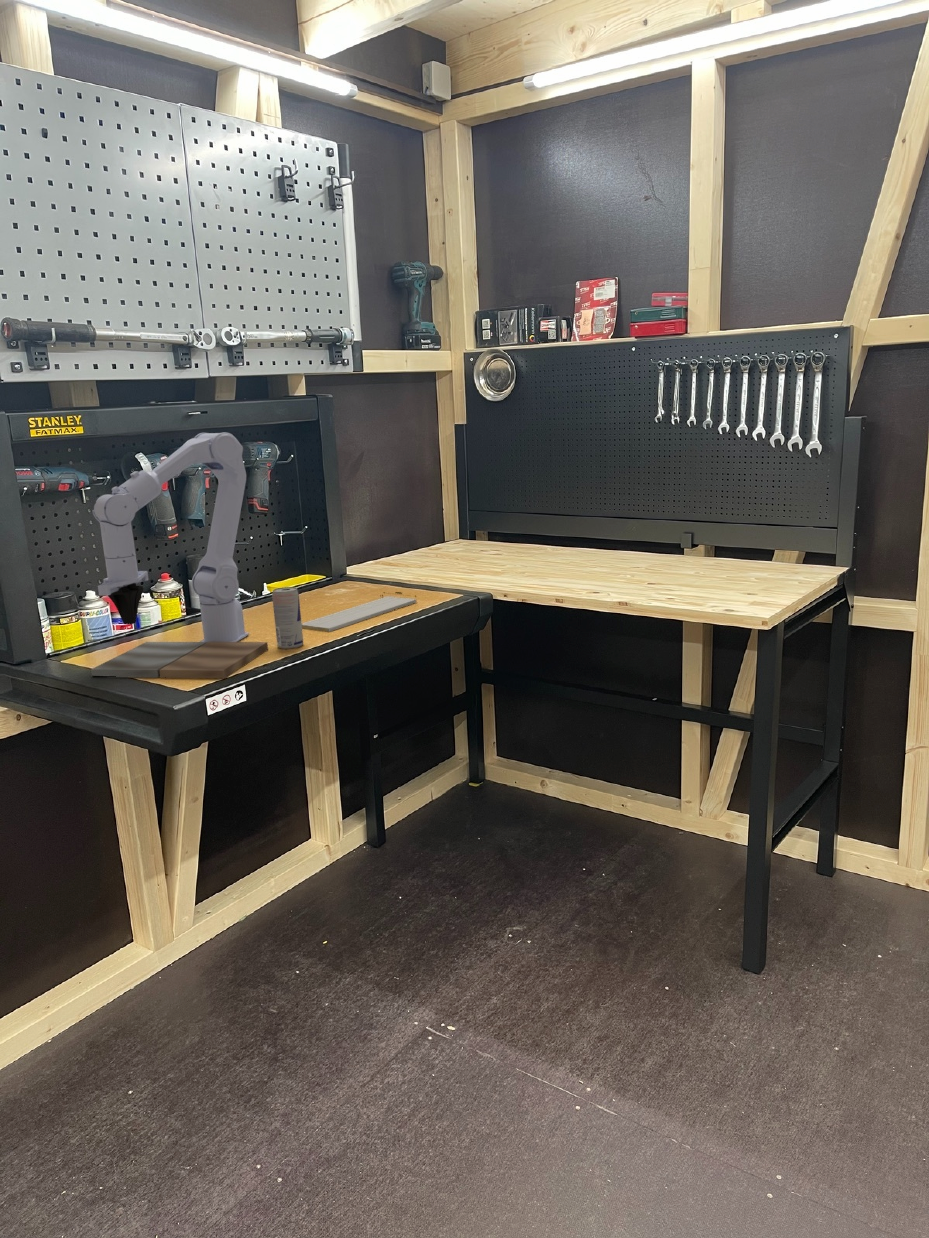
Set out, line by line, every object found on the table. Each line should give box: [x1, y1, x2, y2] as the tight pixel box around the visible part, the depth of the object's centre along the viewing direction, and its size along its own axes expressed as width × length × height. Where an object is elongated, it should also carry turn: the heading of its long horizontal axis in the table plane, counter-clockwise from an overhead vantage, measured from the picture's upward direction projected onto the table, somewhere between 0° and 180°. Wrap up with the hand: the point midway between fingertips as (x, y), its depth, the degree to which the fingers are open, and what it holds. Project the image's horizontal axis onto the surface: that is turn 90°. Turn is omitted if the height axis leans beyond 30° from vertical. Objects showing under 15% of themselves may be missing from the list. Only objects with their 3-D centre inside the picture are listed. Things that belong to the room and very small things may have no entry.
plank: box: [90, 641, 207, 679], centre depth 184 cm, size 20×14×2 cm
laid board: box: [159, 641, 269, 680], centre depth 181 cm, size 20×13×2 cm, turn 168°
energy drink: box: [271, 586, 304, 650], centre depth 190 cm, size 5×5×12 cm
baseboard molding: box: [301, 591, 417, 633], centre depth 217 cm, size 31×3×12 cm
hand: (129, 623), depth 184 cm, fingers closed
